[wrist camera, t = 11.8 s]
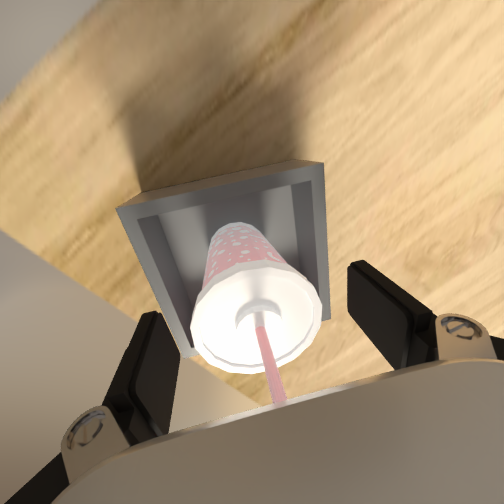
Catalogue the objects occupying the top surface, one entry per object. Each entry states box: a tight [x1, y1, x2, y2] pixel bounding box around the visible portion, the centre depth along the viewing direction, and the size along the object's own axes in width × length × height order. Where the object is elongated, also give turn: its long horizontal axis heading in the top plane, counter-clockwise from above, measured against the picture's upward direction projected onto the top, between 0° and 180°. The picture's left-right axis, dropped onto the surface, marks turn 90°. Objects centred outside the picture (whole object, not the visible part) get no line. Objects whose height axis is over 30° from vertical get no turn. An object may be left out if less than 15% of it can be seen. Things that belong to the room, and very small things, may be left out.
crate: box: [115, 159, 331, 359], centre depth 17 cm, size 12×12×5 cm
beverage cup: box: [190, 222, 322, 403], centre depth 12 cm, size 6×6×14 cm
